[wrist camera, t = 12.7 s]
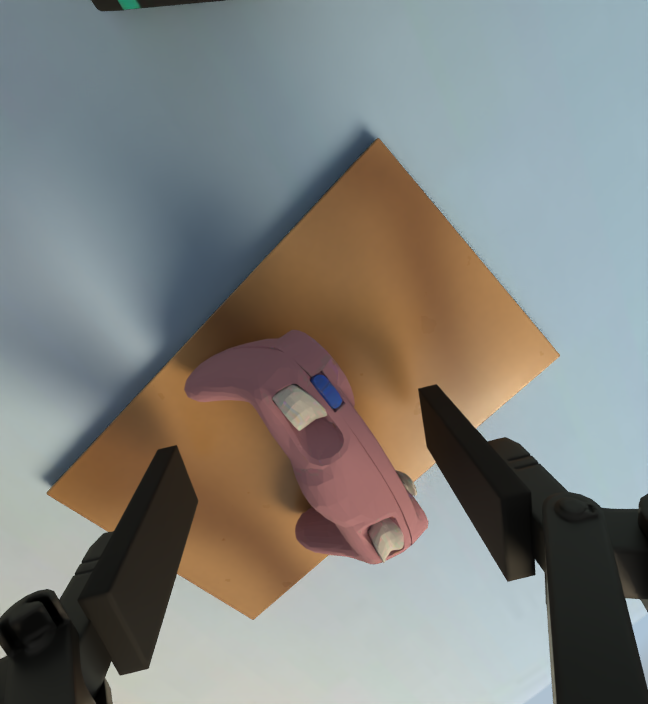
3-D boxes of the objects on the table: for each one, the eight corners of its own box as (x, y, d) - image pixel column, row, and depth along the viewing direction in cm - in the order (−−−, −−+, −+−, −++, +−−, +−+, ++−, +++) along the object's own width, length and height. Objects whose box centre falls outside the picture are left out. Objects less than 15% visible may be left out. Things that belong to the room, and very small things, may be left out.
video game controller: (365, 475, 21) (474, 540, 15) (297, 542, 19) (387, 646, 13) (261, 311, 18) (345, 305, 12) (169, 374, 16) (209, 407, 10)
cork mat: (253, 611, 22) (253, 620, 21) (51, 486, 18) (45, 494, 18) (554, 352, 18) (561, 355, 18) (375, 139, 15) (378, 136, 15)
